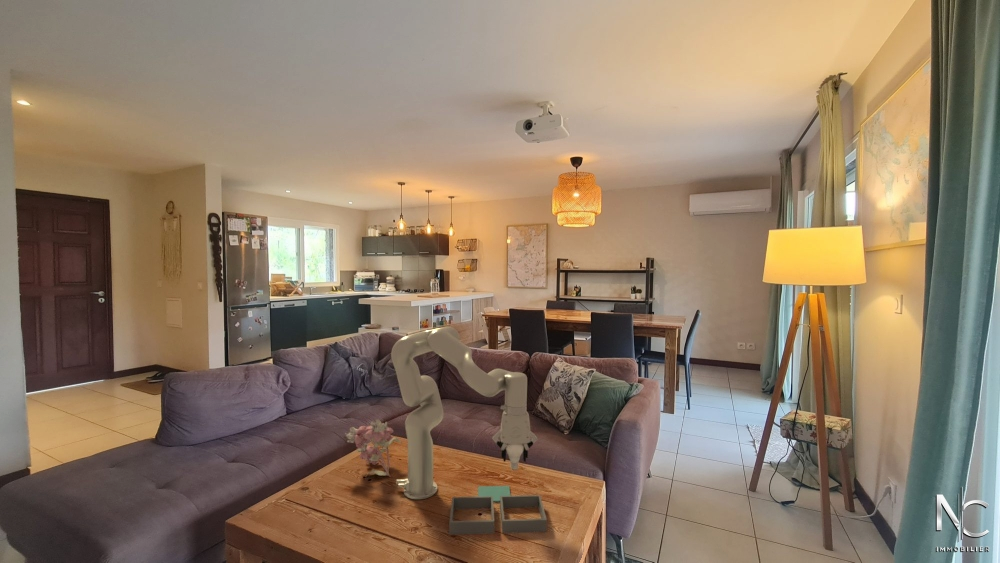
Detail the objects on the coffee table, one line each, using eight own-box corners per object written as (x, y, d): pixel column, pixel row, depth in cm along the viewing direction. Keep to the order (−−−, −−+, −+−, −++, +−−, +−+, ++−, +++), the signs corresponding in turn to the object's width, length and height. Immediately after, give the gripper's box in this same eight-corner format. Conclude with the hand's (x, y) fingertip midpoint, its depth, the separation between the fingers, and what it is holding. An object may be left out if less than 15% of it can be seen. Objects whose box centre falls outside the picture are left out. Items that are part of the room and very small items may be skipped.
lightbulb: (504, 465, 146) (505, 434, 146) (522, 465, 147) (522, 434, 146) (505, 474, 140) (506, 442, 140) (524, 474, 141) (525, 442, 140)
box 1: (449, 534, 132) (449, 522, 132) (452, 508, 147) (452, 497, 146) (494, 533, 133) (494, 521, 133) (492, 507, 147) (492, 496, 147)
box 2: (502, 533, 133) (502, 521, 133) (500, 506, 147) (500, 495, 147) (546, 531, 134) (546, 519, 134) (540, 505, 148) (540, 495, 148)
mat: (478, 502, 150) (478, 501, 150) (478, 487, 160) (478, 486, 160) (511, 502, 150) (511, 500, 150) (509, 487, 160) (509, 485, 160)
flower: (418, 456, 183) (396, 403, 185) (401, 476, 160) (376, 417, 163) (378, 474, 184) (356, 421, 186) (356, 497, 162) (331, 437, 164)
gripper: (490, 412, 138) (489, 465, 139) (542, 413, 139) (540, 465, 140) (490, 405, 146) (489, 454, 147) (539, 405, 147) (537, 454, 147)
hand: (514, 459), depth 143 cm, fingers closed on lightbulb, 6 cm apart
